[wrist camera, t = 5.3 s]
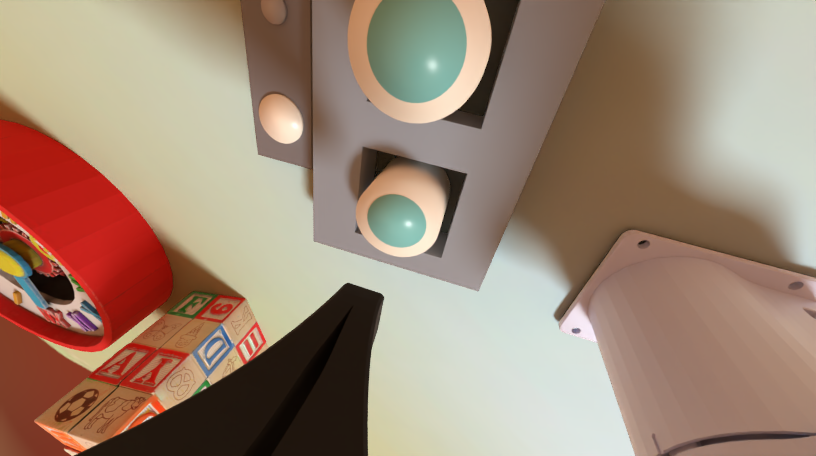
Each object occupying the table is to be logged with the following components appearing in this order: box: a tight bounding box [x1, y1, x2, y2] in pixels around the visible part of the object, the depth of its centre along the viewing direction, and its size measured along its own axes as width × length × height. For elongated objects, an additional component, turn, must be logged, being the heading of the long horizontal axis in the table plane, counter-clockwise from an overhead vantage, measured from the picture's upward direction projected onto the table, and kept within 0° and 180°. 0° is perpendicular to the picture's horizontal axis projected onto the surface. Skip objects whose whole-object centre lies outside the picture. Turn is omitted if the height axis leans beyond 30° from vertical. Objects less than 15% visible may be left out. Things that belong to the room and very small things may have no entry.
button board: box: [312, 0, 605, 291], centre depth 12 cm, size 10×22×2 cm, turn 170°
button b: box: [348, 0, 492, 124], centre depth 10 cm, size 4×4×4 cm
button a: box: [356, 156, 450, 257], centre depth 15 cm, size 4×4×4 cm
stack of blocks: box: [35, 291, 268, 456], centre depth 28 cm, size 21×6×12 cm, turn 4°
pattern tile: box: [241, 0, 313, 169], centre depth 14 cm, size 4×15×1 cm, turn 170°
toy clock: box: [0, 120, 173, 352], centre depth 26 cm, size 20×6×20 cm
